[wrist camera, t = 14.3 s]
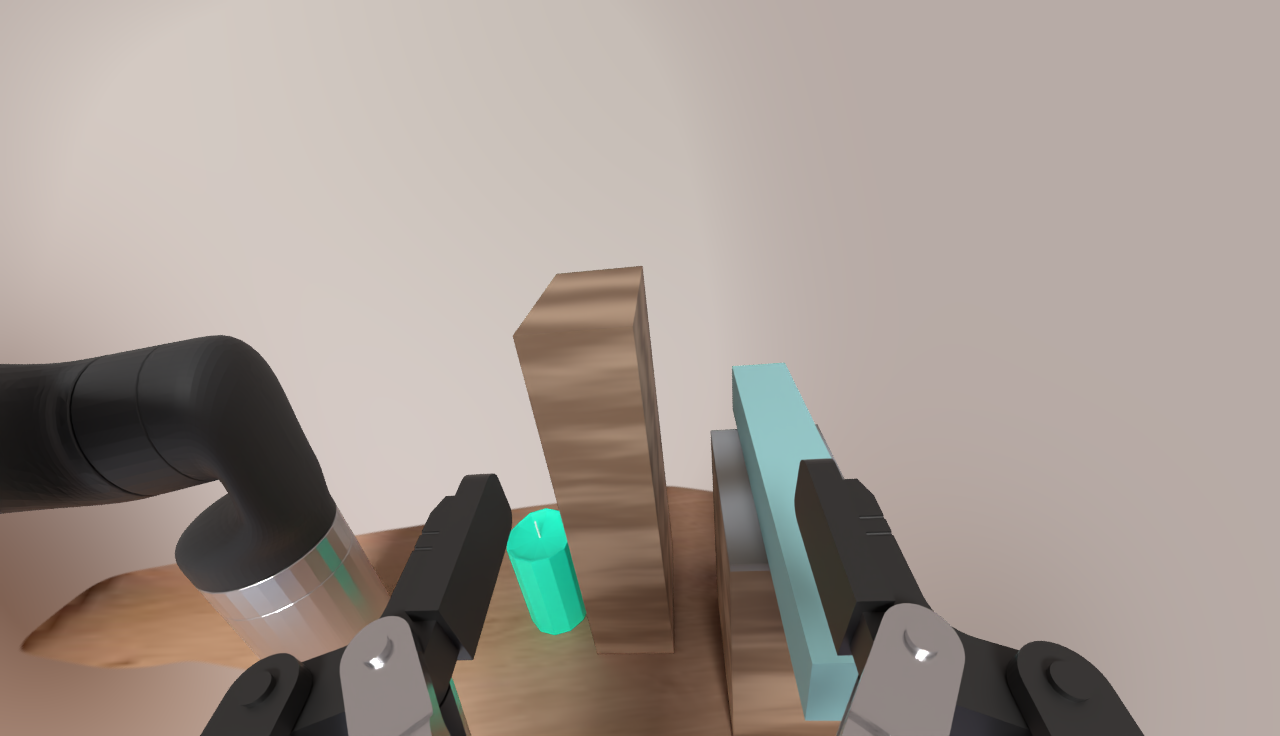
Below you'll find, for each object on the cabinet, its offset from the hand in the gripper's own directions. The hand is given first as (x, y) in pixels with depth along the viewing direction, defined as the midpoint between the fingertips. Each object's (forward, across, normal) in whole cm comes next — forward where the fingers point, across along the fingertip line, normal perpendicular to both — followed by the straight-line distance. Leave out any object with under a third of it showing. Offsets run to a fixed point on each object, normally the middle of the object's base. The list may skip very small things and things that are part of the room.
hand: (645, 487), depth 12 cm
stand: (+16, +4, +36) cm, 39 cm away
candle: (+15, +12, +36) cm, 41 cm away
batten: (+10, -7, +14) cm, 18 cm away
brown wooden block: (+9, -8, +35) cm, 37 cm away
